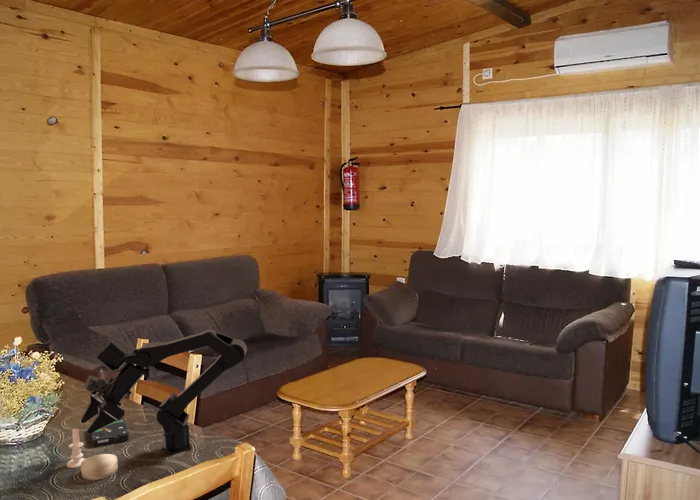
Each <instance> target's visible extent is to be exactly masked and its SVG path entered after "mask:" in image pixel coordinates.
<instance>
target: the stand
mask: <svg viewBox="0 0 700 500" xmlns="http://www.w3.org/2000/svg"><path fill="white" fill-rule="evenodd" d="M118 465H119V464H118V457H117V455H115V454H112V453H101V454H100V453H99V454H95V455H92V456H89V457H86V458H85V460H83V461H82V462H81V467H80V473H81V474H80V475H81V478H82V479H84V480H88V481H97V480H102V479H106V478H109V477H111V476H113V475H115V474H116V473H117V472H118V471H119V470H118V469H119V467H118Z"/></svg>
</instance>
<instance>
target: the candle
mask: <svg viewBox="0 0 700 500" xmlns="http://www.w3.org/2000/svg"><path fill="white" fill-rule="evenodd" d="M83 446H84V442H82V441H80V433H79V428H76V426H75V427H74V428H73V429H72V443H70V444H69V445H68V448H69V449H72V450H71V452H72V453H71V455H70V460H69V461H67V463H66V467H67V468H69V469H77V468H81V462H82V461H83V460H85V459H86V458H84V453H82V447H83Z"/></svg>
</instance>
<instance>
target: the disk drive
mask: <svg viewBox="0 0 700 500" xmlns="http://www.w3.org/2000/svg"><path fill="white" fill-rule="evenodd" d="M116 420H117V419H116ZM129 432H130V431H129V430H128V426H127V424H126V420H125V417H123V418H122V419H121V420H120V421H119V420H117V421H116V422H113V423H111V424H109V425H106V426H104V427H102V428H100V429H99V430H97V431H95V432H93V433H91V434H90V436H91V437H90V438H91V442H92V443H91V445H92V447H94V448H96V447H100V446H105V445H106V446H107V445H112V444H113V445H114V444H119V443H122V442H124V443H125V442H130V433H129Z"/></svg>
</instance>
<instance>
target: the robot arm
mask: <svg viewBox="0 0 700 500" xmlns="http://www.w3.org/2000/svg"><path fill="white" fill-rule="evenodd" d="M204 347H208V348H210V349H212V350H213V351H214V352H216V353H217V354H218V357H217V359H216V360H215V361H214V362H213V363H211V365H209V367H208V368H207V369H205V370H204V371H203V372H202V373H201V374H200V375H199V376H197V378H196V379H195V380H194V381H192V382H191V383H190V384H189V385H188V386H187V387H186V388H184V390H183V391H182V392H180V393H177V394H176V393H175V392H174V391H172V393H171V394H170V395H169V396H168V397H167V398H165V399H163V401H162V402H161V404H160V405H159V406H158V409H159V410H158V411H157V412H156V420H157V422H158V424H160V425H161V426H162V429H163V431H164V433H162V447H163V448H164V449H165V450H166V451H167V453H169V454H170V455H172V454H176V453H179V452H180V453H181V452H185V451H187V450H188V451H189V450H191V449H192V447H193V446H192V445H191V443H190V429H189V428H190V426H189V425H188V424H187V423H188V421H189V418H190V414H188V413H187V412H186V411H185V409H187V407H188V406H189V405H190V404H191V403H192V402H193V401H194V400H195V399H196V398H197V397H198V396H199V395H200V394H201V393H202V392H204V391H205V389H207V388H208V387H209V386H210V385H211V384H212V383H213V382H214V381H216V380H217V379H218V378H219V377H220V376H221V375H222V374H223V373H225V372H226V371H228V370H230V369H232V368H234V367H236V366H237V365H238V364H240V363H242V361H243V360H244V359H245V356H246V354H247V351H248V347H247V344H246V343H245V341H244V340H241V339H240V338H239V339H236V338H232V337H230V336H228V335H227V334H223V333H220V332H218V331H216V330H214V329H211V328H210V329H209V328H208V329H206V330H204V331H202V332H199V333H198V332H197V333H195V334H191V335H188V336H184V337H181V338H177V339H173V340H170V341H164V342H163V341H156V342H147V343H144V344H143V345H141V347H139V348H135V349H131V350H129V351H127V350H125V349H124V348H123V347H121V346H120V345H119V344H118V342H116V341H115V340H112V341H111V342H110V343H109V344H108V345H107V346H106V347H105V348H104V349H103V350H102V351H101V352H100V353H99V354H98V355H97V356H96V358H95V360H96V361H97V362H99V363H100V364H102V365H103V366H104V367H105V368H107V369H108V370H109V371H111V372H112V371H113V372H114V371H119V370H120V369H121V370H120V371H119V372H118V373H117V374H116V375H115V376H114V377H113V376H111V377H109V378H108V379H104V378H100V377H97V376H94V375H88V376H87V379H86V381H85V383H84V388H85V390H86V391H88V392H89V393H88V398H89V402H88V404H87V407H86V409H85V412H84V413H83V415H82V417H81V419H80V423H82V424H85V423H86V422H88V421H90V420H91V419H92V418H94V417H95V416H96V417H95V418H94V419H93V421H92V422H91V424H90V425H89V427H88V429H86V432H87V433H88V434H89V435H91V433H93V432H95V431H97V430H99V429H100V428H102V427H104V426H106V425H109V424H111V423H113V422H116V421H117V420H119V421H120V420H121V419H122V418H125V410H124V408H123V407H122V406H121V405H122V403H121V402H122V401H123V400H124V398H126V396H127V395H129V396H130V395H131V394H132V393H133V392H132V391H131V390H132V389H133V388H134V387H135V386H136V384H137V383H139V381H140V379H142V377H143V376H144V377H146V378H147V379H150V378H151V375H150V374H151V368H150V367H151V366H155V365H156V364H158V363H159V362H161V361H163V360H165V359H167V358H169V357H173V356H177V355H180V354H183V353H186V352H190V351H193V350H197V349H200V348H204ZM125 363H126V364H125ZM124 364H125V365H124ZM123 365H124V366H123ZM122 366H123V367H122ZM116 419H117V420H116Z"/></svg>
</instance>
